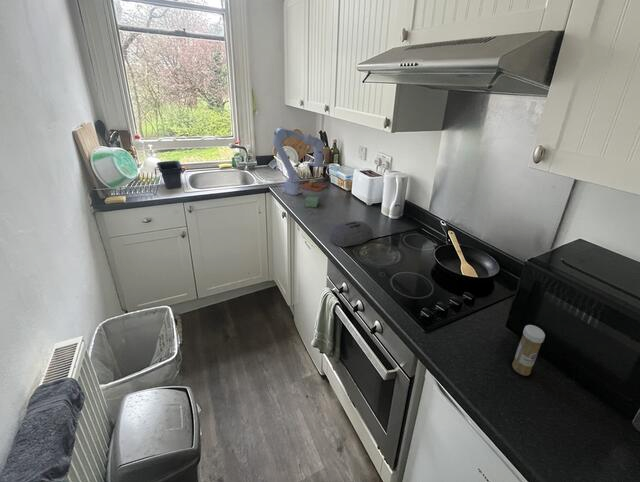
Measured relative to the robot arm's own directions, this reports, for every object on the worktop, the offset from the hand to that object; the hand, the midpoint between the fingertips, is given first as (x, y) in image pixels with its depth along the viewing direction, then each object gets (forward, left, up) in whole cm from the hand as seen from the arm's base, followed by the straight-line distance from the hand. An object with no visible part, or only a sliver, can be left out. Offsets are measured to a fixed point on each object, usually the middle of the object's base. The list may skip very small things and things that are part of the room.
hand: (318, 177), depth 202 cm
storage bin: (-89, -45, -11) cm, 101 cm away
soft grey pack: (+48, -52, -11) cm, 72 cm away
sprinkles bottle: (+118, -94, -11) cm, 151 cm away
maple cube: (-8, +7, -10) cm, 15 cm away
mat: (-8, +7, -10) cm, 15 cm away
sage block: (+9, -23, -10) cm, 27 cm away
